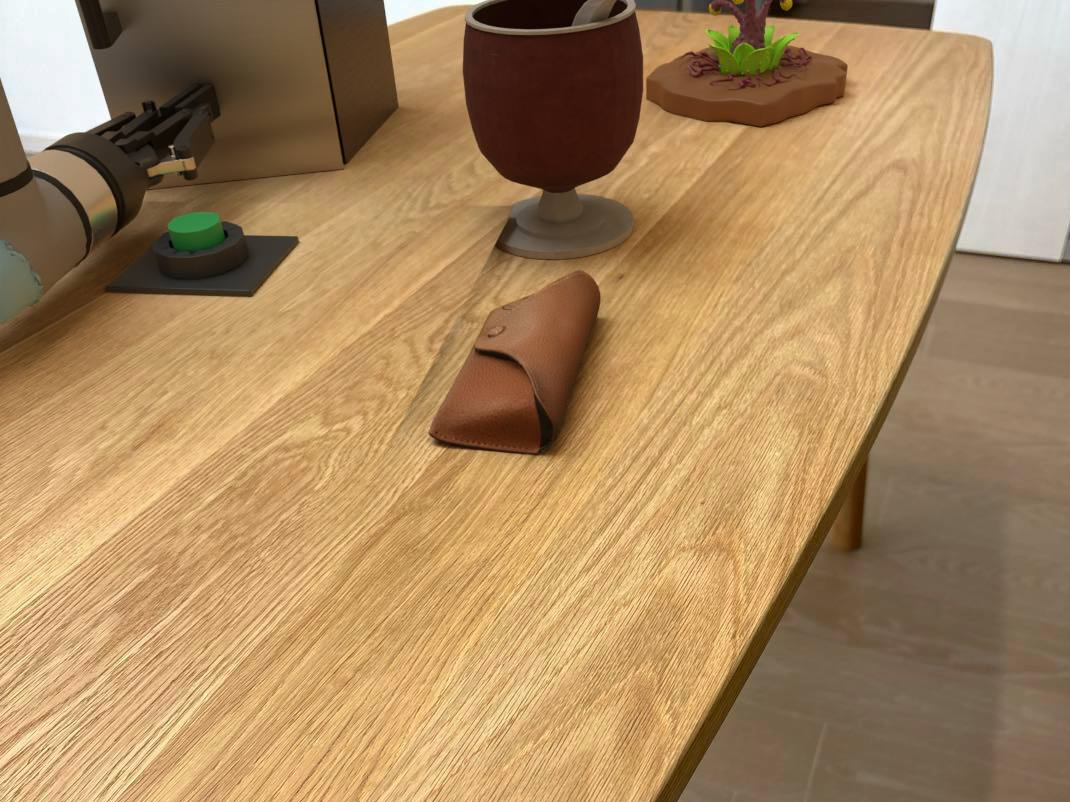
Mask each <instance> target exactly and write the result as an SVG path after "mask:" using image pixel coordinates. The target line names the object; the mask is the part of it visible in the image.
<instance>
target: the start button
mask: <svg viewBox="0 0 1070 802" xmlns="http://www.w3.org/2000/svg"><path fill="white" fill-rule="evenodd" d="M221 221H222V220H221V217H220V215H219V214H217V213H215V212H210V211H196V212H195V211H194V212H190V213H186V214H182V215H180V216H177V217H175V218H173V219H172V220H171V221H169V222H168V223H167V230H168V231H169V234H170V237H171V241H172V244H173V248H174V249H175V250H178V251H196V250H202V249H207V248H211V247H213V246H216V245H218V244H220V243H222V242H223V241H224V240H225V235H224V231H223V227H222V223H221Z"/></svg>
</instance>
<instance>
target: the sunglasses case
mask: <svg viewBox="0 0 1070 802" xmlns="http://www.w3.org/2000/svg"><path fill="white" fill-rule="evenodd" d="M600 307H601V291H600V288H599V285H598V284H597V282H596V280H595V279H594V278H593V277H592V275H590V274H589V273H588V272H586V271H584V270H580V269H578V270H575V271H571V272H570V273H568V274H566V275H563V276H561V277H559V278H558V279H556V280H554V281H552V282H550V283H548V284H547V285H545V286H543V287H542V288H540V289H538V290H537V291H536V292H534V293H532V294H528V295H527V296H524V297H521V298H519V299H517V300H513V301H511V302H508V303H506V304H504V305H500V306H498V307H496V308H494V309H492V310H491V311H490V312H489V313H488V315H487V317H486V319H485V320H484V322H483V325H482V327H481V328H480V331H479V333H478V335H477V338H476V340H475V341H474V343H473V345H472V347H471V349H470V351H469V353H468V355H467V357H466V359H465V361H464V362H463V365H462V367H461V369H460V370H459V372H458V374H457V376H456V377H455V379H454V381H453V383H452V384H451V387H450V388H449V391H448V392H447V394H446V395H445V397H444V399H443V401H442V403H441V405H440V406H439V408H438V409H437V412H436V414H435V416H434V417H433V420H432V421H431V424H430V426H429V431H428V436H430V437H431V438H433V439H434V440H436V441H438V442H441V443H446V444H451V445H454V446H459V447H460V446H461V447H465V448H470V449H476V450H485V451H494V452H502V453H503V452H504V453H512V454H513V453H515V454H524V455H525V454H531V455H539V454H541V453H543V452H545V451H547V450H548V449H550V448H551V447H552V446H553V444H554V443H555V442H556V440H557V439H558V437H559V433H560V431H561V428H562V425H563V423H564V419H565V415H566V412H567V409H568V406H569V405H568V404H569V401H570V398H571V396H572V392H573V390H574V386H575V383H576V381H577V377H578V373H579V370H580V367H581V364H582V361H583V357H584V354H585V352H586V349H587V346H588V342H589V339H590V337H591V334H592V331H593V328H594V325H595V323H596V320H597V319H598V316H599V314H598V313H599V312H600Z"/></svg>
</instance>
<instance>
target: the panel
mask: <svg viewBox="0 0 1070 802" xmlns="http://www.w3.org/2000/svg"><path fill="white" fill-rule="evenodd" d="M221 223H222V227H223V231H224V235H225V240H224V241H223V242H222V243H220V244H218V245H216V246H213V247H211V248H207V249H202V250H196V251H178V250H175V249H174V248H173V244H172V241H171V237H170V234H169V230H168V231H166V232H163V233H162V234H161V235H159V237H158V238H156V239H155V240H154V241H153V242H152V244H150V245H149V246H148V247H147V248H146V249H145V250H144V251H143V252H142V253H140V254H139V255H138V256H137V257H136V258H135V259H134V260H132V262H131V263H129V264H128V265H127V266H126V267H125V268H124V269H122V270H121V272H119V273H118V274H117V275H116V276H114V278H113V279H111V280H110V281H109V282H108V283H107V284H106V285H105V291H106V293H109V294H135V295H136V294H137V295H138V294H141V295H170V296H172V295H173V296H176V295H177V296H203V297H206V296H207V297H232V298H233V297H237V298H239V297H240V298H252V297H254V295H255V294H256V293H257V291H258V290H260V288H261V287H262V286H263V285H264V283H265V282H266V281H268V279H269V278H270V277H271V276H272V274H273V273H274V272H275V271H276V270H277V269H278V267H279V266H280V265H281V264H282V263H283V261H285V259H286V258H287V257H288V256H289V255H290V253H291V252H292V251H294V249H295V248H296V247H297V246H298V244H300V239H299V236H298V235H258V234H257V235H255V234H253V235H252V234H245V232H244V230H243V227H242V226H241V225H239V224H236V223H233V222H230V221H227V220H221Z"/></svg>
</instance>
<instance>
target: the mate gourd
mask: <svg viewBox="0 0 1070 802" xmlns="http://www.w3.org/2000/svg"><path fill="white" fill-rule="evenodd" d="M636 8H637V5H636V1H635V0H484V1H481V2H478V3H477V4H474V5H473V6H471V7H470V8H468V9H467V10H466V11H465V13H464V21H465V26H464V34H463V48H462V49H463V50H462V54H463V55H462V77H463V88H464V99H465V105H466V106H465V107H466V110H467V113H468V118H469V122H470V126H471V130H472V134H473V136H474V138H475V139H474V140H475V141H476V142H475V143H476V144H477V147H478V150H479V151H480V153H481V154H482V155H483V156H484V158H485V159H486V160H487V161H488V162H489V164H490V165H491V166H492V167H493V168H494V169H495V171H497V173H498V174H499V175H500V176H501V177H502V178H503V179H505V180H508V181H510V182H512V183H515V184H519V185H523V186H525V187H526V186H527V187H531V188H535V189H540V190H542V193H541V195H539V196H533V197H529V198H526V199H522V200H520V201H516V202H513V203H511V204H510V205H508V207H513V209H512V211H511V213H510V215H509V217H508V219H507V221H506V222H505V225H504V226H503V228H502V230H501V232H500V234H499V236H498V238H497V240H496V241H495V243H494V246H495V247H497V249H500V250H502V251H503V252H505V253H509V254H511V255H514V256H518V257H523V258H527V259H536V260H568V259H576V258H583V257H588V256H592V255H596V254H600V253H603V252H606V251H609V250H611V249H613V248H615V247H617V246H619V245H621V244H622V243H624V242H625V241H626V240H627V239H629V237H630V236H631V235H632V233H633V230H634V227H635V225H634V224H635V223H634V222H635V221H634V215H633V212H632V211H631V210H630V208H629V207H628V206H626V205H624V204H623V203H621V202H620V201H617V200H615V199H613V198H612V199H611V198H609V197H605V196H601V195H600V196H599V195H596V194H595V195H594V194H587V193H577V190H576V188H579V187H580V186H584V185H586V184H589V183H591V182H594V181H596V180H599V179H601V178H603V177H605V176H608V175H609V174H611V172H613V171H614V170H615V169H616V168H617V167H618V165H619V163H620V162H621V161H622V159H623V158H624V157H625V155H626V154H627V152H628V151H629V149H630V148H631V146H632V145H633V143H634V142H635V138H636V136H637V135H636V134H637V131H638V126H639V122H640V117H641V111H642V101H643V94H644V53H643V47H642V38H641V32H640V31H641V30H640V26H639V22H638V18H637V13H636Z"/></svg>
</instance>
